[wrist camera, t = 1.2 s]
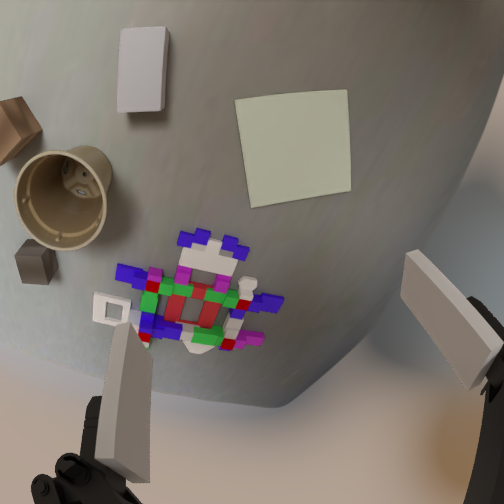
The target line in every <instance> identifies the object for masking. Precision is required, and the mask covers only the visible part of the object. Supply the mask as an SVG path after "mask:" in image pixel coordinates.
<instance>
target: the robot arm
mask: <svg viewBox="0 0 504 504" xmlns="http://www.w3.org/2000/svg"><path fill="white" fill-rule="evenodd" d="M400 297H401V298H402V299H403V301H404V302H405V303H406V305H407V306H408V307H409V309H410V310H411V311H412V313H413V314H414V315H415V317H416V318H417V319H418V321H419V322H420V323H421V325H422V326H423V327H424V328H425V330H426V332H427V333H428V334H429V336H430V337H431V338H432V340H433V341H434V343H435V344H436V345H437V347H438V348H439V350H440V351H441V353H442V354H443V355H444V357H445V358H446V360H447V361H448V363H449V364H450V365H451V367H452V368H453V370H454V372H455V373H456V375H457V376H458V378H459V379H460V380H461V382H462V384H463V385H464V386H465V388H466V390H467V391H469V390H471V389H473V388H474V387H476V386H478V385H479V384H480V383H481V382H482V380H483V379H484V377H485V376H486V377H487V379H488V382H487V383H486V385H485V386H484V388H483V389H482V391H481V394H480V395H483V393H484V392H485V390H486V394H485V403H484V412H483V419H482V426H481V432H480V437H479V443H478V448H477V453H476V458H475V462H474V466H473V470H472V475H471V479H470V482H469V486H468V489H467V493H466V497H465V500H464V503H463V504H504V327H503V326H502V325H501V324H500V322H499V321H498V320H497V319H496V318H495V317H493V315H492V313H491V312H490V311H488V309H487V308H486V307H485V306H484V305H483V303H482V302H480V301H479V300H477V299H475V298H474V297H472V296H471V297H468V298H465V297H464V296H463V295H462V293H461V292H460V291H459V290H458V289H457V288H456V287H455V286H454V285H453V284H452V283H451V282H450V281H449V280H448V279H447V278H446V277H445V276H444V275H443V274H442V273H441V272H440V270H439V269H437V267H436V266H434V264H433V263H432V262H431V261H430V260H429V259H428V258H427V257H426V256H424V255H423V254H422V253H421V252H420V251H419V250H414V251H411V252H408V253H406V256H405V264H404V272H403V279H402V286H401V294H400ZM152 366H153V359H152V357H151V356H150V354H149V353H148V351H147V349H146V348H145V346H144V344H143V343H142V341H141V339H140V338H139V336H138V334H137V333H136V331H135V329H134V327H133V326H132V324H131V322H126V323H121V324H116V326H115V330H114V335H113V340H112V344H111V349H110V354H109V360H108V365H107V370H106V376H105V382H104V388H103V394H102V396H94V397H92V398H91V400H90V402H89V404H88V406H87V409H86V415H85V419H86V420H85V421H84V429H83V435H82V443H81V450H80V456H78V455H77V454H74V453H66V454H64V455H62V456H61V457H60V458H59V459H58V460H57V463H56V465H55V473H56V476H57V477H56V478H51V477H50V476H48V475H45V474H40V475H38V476H36V477H35V478H34V480H33V481H32V485H31V492H32V496H33V499H34V503H35V504H142V503H141V502H140V501H139V499H138V498H137V497H136V496H135V495H134V494H133V493H132V492H131V490H130V489H129V488H128V487H126V479H127V480H128V481H130V482H132V483H150V455H149V454H150V405H151V383H152Z"/></svg>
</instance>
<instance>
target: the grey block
mask: <svg viewBox="0 0 504 504" xmlns="http://www.w3.org/2000/svg"><path fill="white" fill-rule="evenodd" d="M169 33H170V32H169V30H168V29H167V27H166V26H157V27H140V28H128V29H121V36H120V49H119V65H118V91H117V113H125V112H145V111H161V110H162V109H163V108H165V90H166V72H167V57H168V45H169Z"/></svg>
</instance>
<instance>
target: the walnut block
mask: <svg viewBox="0 0 504 504" xmlns="http://www.w3.org/2000/svg"><path fill="white" fill-rule="evenodd" d="M41 130H42V128H41V126H40V125H39V123H38V121H37V120H36V118H35V117H34V115H33V114H32V112H31V110H30V109H29V107H28V106H27V104H26V102H25V101H24V99H23V97H22V96H21V97H17V98H12V99H8V100H4V101H0V166H1V165H3V164H4V163H6V162H8V161H9V160H11V159H13V158H14V157H16V156H17V155H18V154H19V153H20V152H21V150H22V149H23V148H24V147H25V146H26V145H27V144H28V143H29V142H30V141H31V140H32V139H33V138H34V137H35V136H36V135H37V134H38V133H39V132H40V131H41Z"/></svg>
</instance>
